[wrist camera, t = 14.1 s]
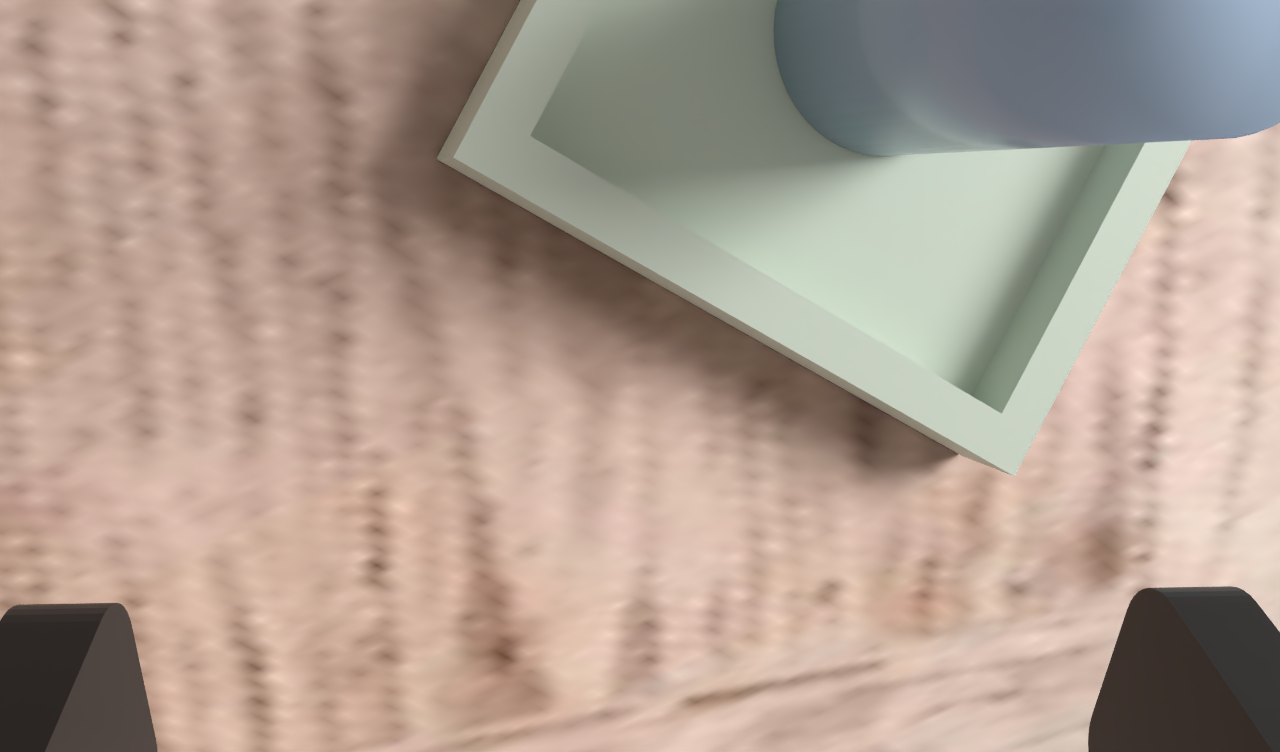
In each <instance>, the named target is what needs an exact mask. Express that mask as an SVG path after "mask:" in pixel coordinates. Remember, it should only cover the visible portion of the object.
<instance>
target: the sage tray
mask: <svg viewBox="0 0 1280 752" xmlns="http://www.w3.org/2000/svg"><path fill="white" fill-rule="evenodd" d="M776 4H777V0H520V2H519V4H518V6H517V8H516V10H515V11H514V13H513V15H512V17H511V19H510V21H509V23H508V25H507V27H506V28H505V30H504V32H503V34H502V36H501V38H500V40H499V42H498V44H497V45H496V47H495V49H494V51H493V53H492V55H491V57H490V59H489V61H488V62H487V64H486V66H485V68H484V70H483V72H482V74H481V76H480V77H479V79H478V81H477V83H476V85H475V87H474V89H473V91H472V93H471V94H470V96H469V98H468V100H467V102H466V104H465V106H464V108H463V110H462V111H461V113H460V115H459V117H458V119H457V121H456V123H455V125H454V126H453V128H452V130H451V132H450V134H449V136H448V138H447V140H446V142H445V143H444V145H443V147H442V149H441V151H440V153H439V155H438V157H437V160H439V161H441V162H442V163H444V164H446V165H448V166H450V167H451V168H453V169H455V170H457V171H458V172H460V173H462V174H464V175H465V176H467V177H469V178H471V179H473V180H474V181H476V182H478V183H480V184H481V185H483V186H485V187H487V188H488V189H490V190H492V191H494V192H496V193H497V194H499V195H501V196H503V197H504V198H506V199H508V200H510V201H511V202H513V203H515V204H517V205H519V206H520V207H522V208H524V209H526V210H527V211H529V212H531V213H533V214H535V215H536V216H538V217H540V218H542V219H543V220H545V221H547V222H549V223H550V224H552V225H554V226H556V227H558V228H559V229H561V230H563V231H565V232H566V233H568V234H570V235H572V236H573V237H575V238H577V239H579V240H581V241H582V242H584V243H586V244H588V245H589V246H591V247H593V248H595V249H596V250H598V251H600V252H602V253H604V254H605V255H607V256H609V257H611V258H612V259H614V260H616V261H618V262H620V263H621V264H623V265H625V266H627V267H628V268H630V269H632V270H634V271H635V272H637V273H639V274H641V275H643V276H644V277H646V278H648V279H650V280H651V281H653V282H655V283H657V284H658V285H660V286H662V287H664V288H666V289H667V290H669V291H671V292H673V293H674V294H676V295H678V296H680V297H681V298H683V299H685V300H687V301H689V302H690V303H692V304H694V305H696V306H697V307H699V308H701V309H703V310H705V311H706V312H708V313H710V314H712V315H713V316H715V317H717V318H719V319H720V320H722V321H724V322H726V323H728V324H729V325H731V326H733V327H735V328H736V329H738V330H740V331H742V332H743V333H745V334H747V335H749V336H751V337H752V338H754V339H756V340H758V341H759V342H761V343H763V344H765V345H766V346H768V347H770V348H772V349H774V350H775V351H777V352H779V353H781V354H782V355H784V356H786V357H788V358H790V359H791V360H793V361H795V362H797V363H798V364H800V365H802V366H804V367H805V368H807V369H809V370H811V371H813V372H814V373H816V374H818V375H820V376H821V377H823V378H825V379H827V380H828V381H830V382H832V383H834V384H836V385H837V386H839V387H841V388H843V389H844V390H846V391H848V392H850V393H851V394H853V395H855V396H857V397H859V398H860V399H862V400H864V401H866V402H867V403H869V404H871V405H873V406H875V407H876V408H878V409H880V410H882V411H883V412H885V413H887V414H889V415H890V416H892V417H894V418H896V419H898V420H899V421H901V422H903V423H905V424H906V425H908V426H910V427H912V428H913V429H915V430H917V431H919V432H921V433H922V434H924V435H926V436H928V437H929V438H931V439H933V440H935V441H936V442H938V443H940V444H942V445H944V446H945V447H947V448H949V449H951V450H952V451H954V452H956V453H958V454H960V455H962V456H964V457H967V458H969V459H972V460H974V461H977V462H979V463H982V464H984V465H987V466H990V467H992V468H995V469H997V470H1000V471H1002V472H1005V473H1007V474H1010V475H1012V476H1015V474H1016V472H1017V470H1018V469H1019V467H1020V465H1021V463H1022V461H1023V459H1024V457H1025V455H1026V453H1027V452H1028V450H1029V448H1030V446H1031V444H1032V442H1033V440H1034V438H1035V436H1036V434H1037V433H1038V431H1039V429H1040V427H1041V425H1042V423H1043V421H1044V419H1045V417H1046V416H1047V414H1048V412H1049V410H1050V408H1051V406H1052V404H1053V402H1054V400H1055V399H1056V397H1057V395H1058V393H1059V391H1060V389H1061V387H1062V385H1063V383H1064V381H1065V380H1066V378H1067V376H1068V374H1069V372H1070V370H1071V368H1072V366H1073V364H1074V363H1075V361H1076V359H1077V357H1078V355H1079V353H1080V351H1081V349H1082V347H1083V346H1084V344H1085V342H1086V340H1087V338H1088V336H1089V334H1090V332H1091V330H1092V328H1093V327H1094V325H1095V323H1096V321H1097V319H1098V317H1099V315H1100V313H1101V311H1102V310H1103V308H1104V306H1105V304H1106V302H1107V300H1108V298H1109V296H1110V294H1111V293H1112V291H1113V289H1114V287H1115V285H1116V283H1117V281H1118V279H1119V277H1120V275H1121V274H1122V272H1123V270H1124V268H1125V266H1126V264H1127V262H1128V260H1129V258H1130V257H1131V255H1132V253H1133V251H1134V249H1135V247H1136V245H1137V243H1138V241H1139V240H1140V238H1141V236H1142V234H1143V232H1144V230H1145V228H1146V226H1147V224H1148V222H1149V221H1150V219H1151V217H1152V215H1153V213H1154V211H1155V209H1156V207H1157V205H1158V204H1159V202H1160V200H1161V198H1162V196H1163V194H1164V192H1165V190H1166V188H1167V187H1168V185H1169V183H1170V181H1171V179H1172V177H1173V175H1174V173H1175V171H1176V170H1177V168H1178V166H1179V164H1180V162H1181V160H1182V158H1183V156H1184V154H1185V152H1186V151H1187V149H1188V147H1189V145H1190V143H1191V141H1192V140H1188V141H1169V142H1149V143H1130V144H1110V145H1091V146H1071V147H1052V148H1032V149H1013V150H993V151H974V152H954V153H935V154H915V155H896V156H872V155H864V154H860V153H856V152H852V151H850V150H847V149H845V148H842V147H840V146H838V145H836V144H835V143H833V142H831V141H829V140H828V139H826V138H825V137H824V136H822V135H821V134H820V133H819V132H817V131H816V130H815V129H814V128H813V127H812V126H811V125H810V124H809V123H808V122H807V121H806V120H805V119H804V117H803V116H802V115H801V113H800V112H799V111H798V109H797V108H796V107H795V105H794V103H793V102H792V100H791V98H790V96H789V94H788V93H787V90H786V88H785V85H784V83H783V81H782V78H781V75H780V71H779V68H778V64H777V60H776V53H775V47H774V18H775V9H776Z"/></svg>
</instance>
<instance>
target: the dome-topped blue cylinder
mask: <svg viewBox="0 0 1280 752" xmlns="http://www.w3.org/2000/svg"><path fill="white" fill-rule="evenodd" d="M774 47H775V53H776V60H777V64H778V68H779V71H780V75H781V78H782V81H783V83H784V85H785V88H786V90H787V93H788V94H789V96H790V98H791V100H792V102H793V103H794V105H795V107H796V108H797V109H798V111H799V112H800V113H801V115H802V116H803V117H804V119H805V120H806V121H807V122H808V123H809V124H810V125H811V126H812V127H813V128H814V129H815V130H816V131H817V132H819V133H820V134H821V135H822V136H824V137H825V138H826V139H828V140H829V141H831V142H833V143H835V144H836V145H838V146H840V147H842V148H845V149H847V150H850V151H852V152H856V153H860V154H864V155H872V156H896V155H915V154H935V153H954V152H974V151H993V150H1013V149H1032V148H1052V147H1071V146H1091V145H1110V144H1130V143H1149V142H1169V141H1188V140H1208V139H1225V138H1237V137H1242V136H1246V135H1250V134H1255V133H1257V132H1260V131H1262V130H1265V129H1267V128H1270V127H1272V126H1274V125H1276V124H1278V123H1280V0H777V4H776V9H775V18H774Z"/></svg>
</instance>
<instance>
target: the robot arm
mask: <svg viewBox="0 0 1280 752" xmlns="http://www.w3.org/2000/svg"><path fill="white" fill-rule="evenodd" d="M1088 747H1089V752H1280V632H1279V631H1278V630H1277V628H1276V627H1275V626H1274V624H1273V623H1272V622H1271V621H1270V619H1269V618H1268V617H1267V615H1266V614H1265V613H1264V611H1263V610H1262V609H1261V608H1260V606H1259V605H1258V604H1257V602H1256V601H1255V600H1254V599H1253V598H1252V597H1251V596H1250V595H1249V594H1248V593H1246V592H1245V591H1244V590H1242V589H1239V588H1237V587H1175V588H1146V589H1143V590H1141V591H1139V592H1138V593H1137V594H1136V595H1135V596H1134V597H1133V599H1132V600H1131V602H1130V604H1129V607H1128V609H1127V612H1126V615H1125V618H1124V621H1123V624H1122V627H1121V630H1120V633H1119V636H1118V639H1117V642H1116V645H1115V648H1114V651H1113V654H1112V657H1111V660H1110V663H1109V666H1108V669H1107V672H1106V675H1105V678H1104V681H1103V684H1102V687H1101V690H1100V693H1099V696H1098V699H1097V702H1096V705H1095V708H1094V711H1093V714H1092V718H1091V722H1090V727H1089V738H1088ZM0 752H157V744H156V738H155V733H154V729H153V724H152V719H151V714H150V710H149V705H148V700H147V695H146V691H145V686H144V681H143V677H142V672H141V667H140V662H139V658H138V653H137V648H136V644H135V639H134V634H133V629H132V625H131V621H130V618H129V615H128V613H127V611H126V609H125V608H124V606H122V605H121V604H119V603H89V604H32V605H16V606H13V607H12V608H10V609H9V610H8V611H7V612H6V613H5V615H4V616H3V617H2V619H1V621H0Z"/></svg>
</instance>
